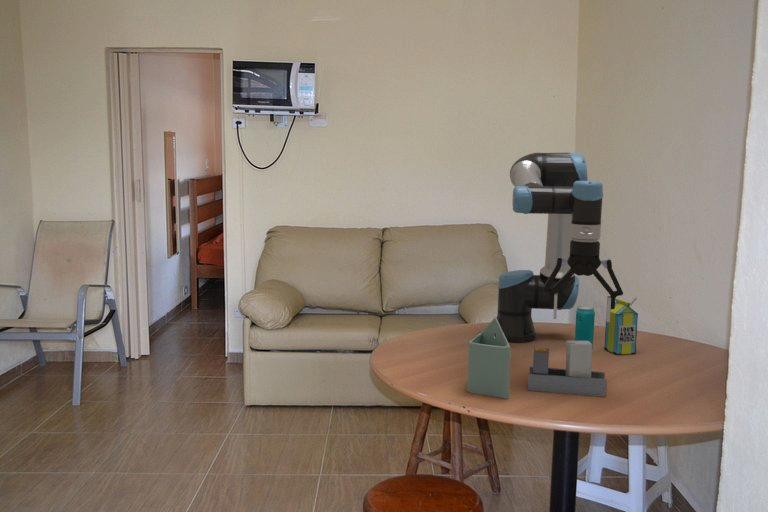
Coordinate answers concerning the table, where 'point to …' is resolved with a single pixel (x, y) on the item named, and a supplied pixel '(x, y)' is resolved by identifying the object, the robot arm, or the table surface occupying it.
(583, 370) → the skincare box
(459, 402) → the table surface
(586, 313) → the beverage can
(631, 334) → the carton
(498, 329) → the planter
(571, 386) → the rail
